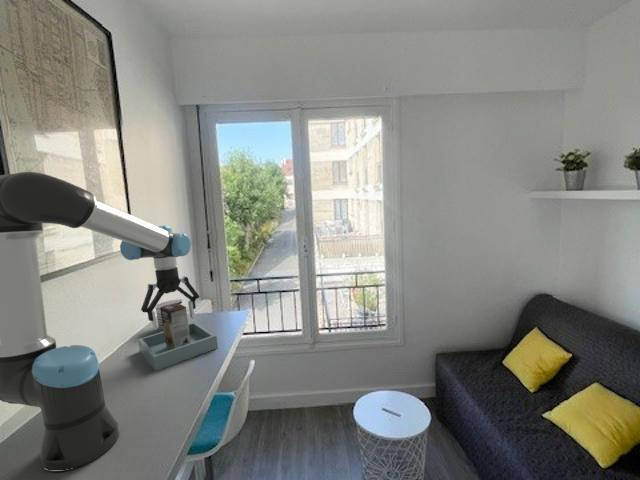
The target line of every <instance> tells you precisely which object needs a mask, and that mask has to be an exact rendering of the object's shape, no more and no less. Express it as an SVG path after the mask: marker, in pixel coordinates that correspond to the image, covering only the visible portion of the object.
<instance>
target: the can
mask: <svg viewBox="0 0 640 480" xmlns="http://www.w3.org/2000/svg"><path fill="white" fill-rule="evenodd" d="M183 300H184V299H183V298H176V299H169V300H166V301H163V302H161V303H157V304H156V306H155V313H156V320H157V327H158V333H160V332H163V331H164V329H163V322H162V316H161V310H160V307H162V306H165V305H169V304H174V303H178V304H180V305H183Z"/></svg>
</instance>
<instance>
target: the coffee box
mask: <svg viewBox="0 0 640 480" xmlns="http://www.w3.org/2000/svg"><path fill="white" fill-rule="evenodd" d="M160 310H161V316H162V322H163V329H164V335H165V341H166V347H167V348H169V349H170V350H172V349H175V348H178V347H181V346H184V345H187V344H189V343H191V340H190V333H189V325H188V324H189V320H188V319H189V318H188V311H187V307H186V306H185V305H183V304H182V305H180V304H178V303H174V304H169V305H165V306H162V307H160Z"/></svg>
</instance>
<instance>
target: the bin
mask: <svg viewBox="0 0 640 480" xmlns="http://www.w3.org/2000/svg"><path fill="white" fill-rule="evenodd" d="M188 325H189V333H190V340H191V343H189V344H187V345H184V346H181V347H178V348H175V349H172V350H170V349H169V348H167V347H166V341H165V335H164V331H163V332H157V333H154V334H150V335H147V336H145V337H141V338H137V340H138V341H137V343H138V347H139V353H141V355H142V356H143V357H144V359H145V360H146V361H147V362H148V364H149V365H150V366H151V367H152V368H153V370H154V371H155V372H157V371H160V370H162V369H165V368H168V367H172V366H174V365H176V364H180V363H182V362H184V361H183V360H185V359H188V358H190V359H192V358H191V357H193V358H195V357H194V356H196V355H198V356H200V355H199V354H201V355H203V354H202V353H204V354H206V353H205V352H207V353H209V352H212V351H215V350H217V349H219V346H218V337H217V335H216V334H215V333H213V332H212V331H210V330H208V329H206V328H205V327H204V326H202V325H200V324H199V323H197V322H196V321H194V322H190V323H188ZM214 349H215V350H214ZM211 350H212V351H211ZM208 351H209V352H208ZM196 357H197V356H196ZM188 360H189V359H188ZM181 361H182V362H181ZM185 361H186V360H185Z"/></svg>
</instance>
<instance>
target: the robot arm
mask: <svg viewBox="0 0 640 480" xmlns="http://www.w3.org/2000/svg"><path fill="white" fill-rule="evenodd" d="M43 224H55V225H61V226H65V227H68V228H71V229H78V228H84V229H87V230H90V231H92V232H93V231H94V232H96V233H99V234H102V235H105V236H107V237H111V238H114V239H116V240H119V241H121V242H120V246H119V249H120V254H121V255H122V257H123V258H124V259H125V260H127V261H128V260H129V261H134V260H139V259H143V258H144V259H145V258H149V259H150V258H153V265H154V268H155V271H154V272H155V277H156V283H152V284H151V283H148V284H147V292H146V294H145V298H144V300H143V303H142V305H141V308H140V311H141V312H143V313H147V319H148V321H149V322H151V323H152V328H153V329H154V330H155V331H156V330H158V323H157V316H156V314H155V313H156V311H155V310H154V309H156V307H155V306H156V305H158V304H159V302H160V300H161V298H162V297H163V296H164V295H165V294H170V293H175V292H176V291H178V292H179V293H180V294H182V295H184V297H186V298H187V299H188V301H187V304H188V309H189V310H188V311H189V317H190V318H191V319H195V318H196V317H195V311H194V310H196V301H197V299H199V298H200V295H199V294H198V292H197V291H196V290H195V288H194V287H193V285H191V283H190V281H189V277H188V276H182V277H181V278H180V276H179V269H178V267H177V266H178V262H177V258H178V257H179V258H180V257H185V256H187V255H188V254H189V253H190V251H191V248H192V247H191V246H192V242H191V239H190V237H189V236H188V235H187V234H186V233H184V232H183V233H181V232H176V233H174V232H173V231H172V227H171V226H170V225H166V224H165V225H158V226H157V225H155V224H153V223H150V222H148V221H146V220H143V219H141V218H139V217H136V216H134V215H132V214H130V213H128V212H126V211H124V210H121V209H119V208H117V207H114V206H112V205H109V204H107V203H105V202H103V201H101V200H98V199H96V196H95V194H94V193H92V192H91V191H88V190H86V189H84V188H82V187H80V186H77V185H76V184H74V183H71V182H68V181H65V180H64V179H60V178H57V177H55V176H52V175H49V174H45V173H41V172H36V171H35V172H33V171H22V172H21V171H20V172H16V173H8V174H0V401H1V402H3V403H8V404H11V405H12V404H16V405H17V404H18V405H23V406H29V407H36V408H40V411H41V416H42V420H43V424H44V434H43V439H42V445H41V450H40V454H39V455H40V456H39V457H40V462H41V465H42V466H43V467H44V468H46V469H48V470H66V469H71V468H75V467H78V468H80V467H83V466H85V465H88V464H89V463H91V462H94V461H95V460H96V459H98V458H99V457H101V456H103V455H104V454H105V453H106V452H108V451H109V450H110V449H111V448H112V447H113V446H114V445H115V444H116V442H117V441H118V438H119V437H120V429H119V424H118V422H117V420H116V419H115V417H114V416H113V414H112V413H111V412H110V411H111V410H109V409H108V407H107V406H106V401H105V395H104V390H103V385H102V379H101V372H100V364H99V361H98V357H97V354H96V352H95V351H94V350H93V349H92V348H91V347H89V346H86V345H78V344H75V345H70V346H67V345H66V346H59V347H57V342H56V339H55V338H54V337H52V336H51V335H48V332H47V331H48V330H47V323H46V315H45V314H46V313H45V306H44V298H43V290H42V289H43V288H42V287H43V286H42V279H41V273H40V263H39V254H38V247H37V245H38V244H37V238H38V237H40V236H41V234H42V233H44V227H43ZM181 283H183V284H184V285H185V286H186V287H187V289H188V290H189V292H190V293H191V294H192V295H191V294H190V293H188V292H187V291H185V290H184V288H182V287H181V286H180V284H181ZM156 288H157V289H158V291H157V292H156V294H155V296H154V297H153V298H152V296H153V293H154V291H155V290H156ZM151 298H152V300H151ZM42 466H41V467H42ZM79 466H80V467H79ZM43 467H42V468H43ZM44 468H43V469H44ZM75 469H76V468H75Z"/></svg>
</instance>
